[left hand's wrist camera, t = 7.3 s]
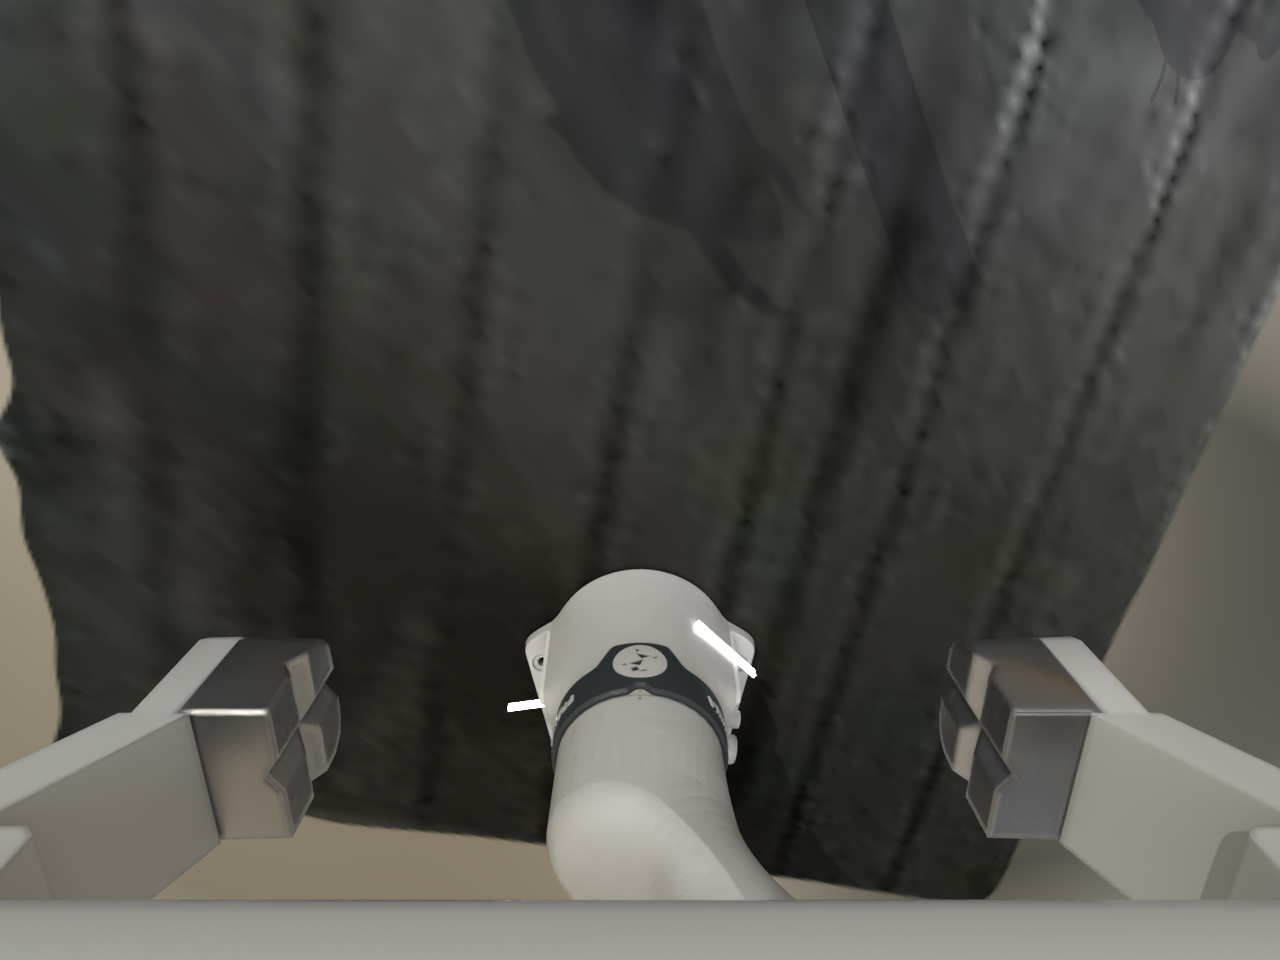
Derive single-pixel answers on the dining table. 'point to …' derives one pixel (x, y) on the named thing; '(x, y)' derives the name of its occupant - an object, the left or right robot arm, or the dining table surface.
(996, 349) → the dining table surface
